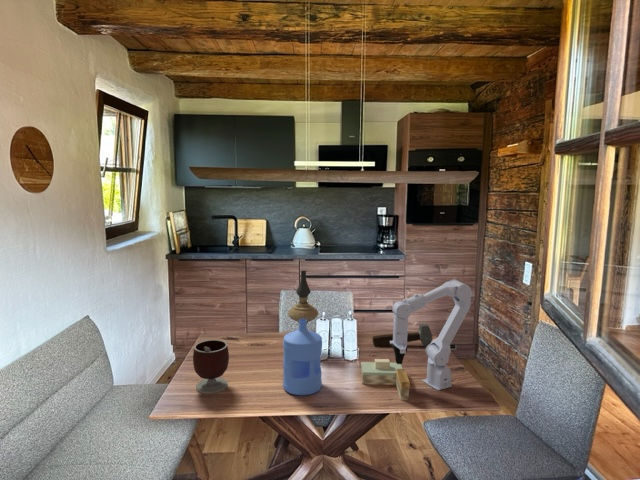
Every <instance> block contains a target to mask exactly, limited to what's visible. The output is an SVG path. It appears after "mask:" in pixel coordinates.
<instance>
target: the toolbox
mask: <svg viewBox="0 0 640 480" xmlns="http://www.w3.org/2000/svg"><path fill="white" fill-rule="evenodd" d="M360 375H361V376H360V377H361V381H362V385H381V386H382V385H383V386H386V385H387V386H395V387H396V391H397V393H398V397H399V399H400V401H409V400H410V399H409V398H410V396H409V394H410V387H409V388H401V385H400V383H399V380H398V377H397V373H396V376H385V375H363V373H362V367H361V366H360Z"/></svg>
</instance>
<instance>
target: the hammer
mask: <svg viewBox="0 0 640 480" xmlns="http://www.w3.org/2000/svg"><path fill="white" fill-rule="evenodd" d="M390 341H393V333H391V334H390V333H389V334H380V335H379V334H378V335H373V336H372V344H373V346H374V347H387V346H392V345H393V344H390ZM416 341H420V342H421V344H422V346H423V347H424V348H427V346H428V345H429V344H431V342H432V341H433V334H432V331H431V329H430V326H429V324H428V323H421V324H419V326H418V331H417V332H408V334H407V342H408V343H410V342H416Z"/></svg>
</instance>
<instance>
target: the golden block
mask: <svg viewBox="0 0 640 480" xmlns="http://www.w3.org/2000/svg"><path fill="white" fill-rule="evenodd" d="M397 377H398V380H399V383H400V385H401V388H409V389H410V385H411V383H410V382H411V381H410V380H409V376H408V375H407V372H406V369H405V368H403V369H397Z"/></svg>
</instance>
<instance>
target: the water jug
mask: <svg viewBox="0 0 640 480" xmlns="http://www.w3.org/2000/svg"><path fill="white" fill-rule="evenodd" d="M306 322H307V320H306V319H300V320H299V323H298V329H296V330H294V331H291V332H288V333H286V334H285V335H284V336H283V341H282V348H283V352H282V353H283V360H282V366H283V367H282V369H283V380H282V386H283V389H284V390H285V391H286V392H287V393H288V394H291V395H295V396H308V395H309V396H310V395H313V394H315V393H317V392H319V391H320V389H322V386H323V385H322V368H321V357H322V352H323V337H322V336H321V335H320V334H319V333H318V332H315V331H312V330H310V329H308V328H307V327H308V326H307V325H308V323H307V324H306ZM307 329H308V330H307Z"/></svg>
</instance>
